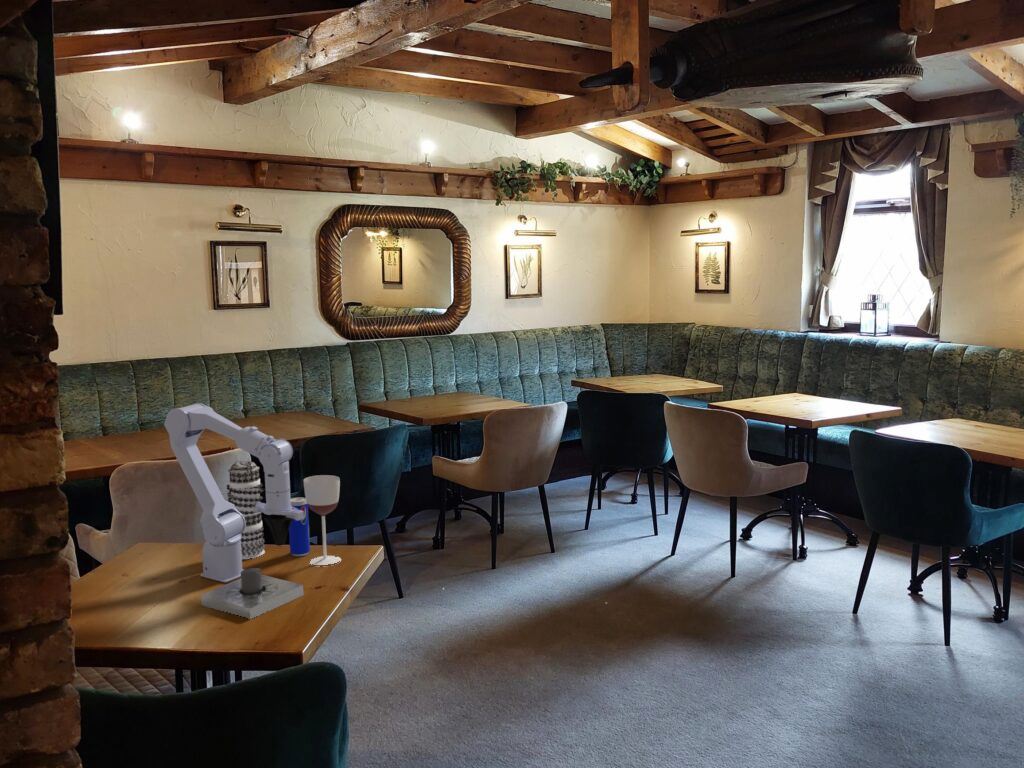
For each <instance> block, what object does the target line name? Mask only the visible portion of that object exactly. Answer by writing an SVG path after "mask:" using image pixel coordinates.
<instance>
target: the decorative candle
mask: <svg viewBox="0 0 1024 768" xmlns="http://www.w3.org/2000/svg"><path fill="white" fill-rule="evenodd" d="M227 471H228V472H229V473H228V474H229V481H228V484H227V485H226V490H228V492H227V493H226V494H227V497H228V498H227V499H228V500H227V501H228V502H230V503H232V504H234V505H235V507H236V509H237V510H238V511H239V512H240V513H241V514H242V515H243V516H244V518H245V521H246V527H245V530H244V531H243V532H242V537H241V554H242V560H250V558H252V559H257V558H260V557H262V556H264V555H263V554H265V553H266V551H265V549H266V547H265V544H264V543H265V538H263V537H264V536H265V533H264V532H263V531H264V526H263V520H262V512H259V513H257V512H255V505H256V504H259V503H263V502H262V500H263V499H264V497H263V496H262V495H260V494H262V493H263V492H264V490H263V489H262V487H264V484H263V483H261V478H260V466H257V464H256V463H255V462H254V461H239V462H234V463H233V464H232V465H231V466H230V468H227ZM261 555H262V556H261ZM259 556H260V557H259ZM256 557H257V558H256Z"/></svg>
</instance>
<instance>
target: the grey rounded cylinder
mask: <svg viewBox="0 0 1024 768" xmlns="http://www.w3.org/2000/svg"><path fill="white" fill-rule="evenodd" d="M262 571H263V570H262V569H261V568H258V567H251V568H245V569H244V570H243V571H241V577H240V579H241V587H242V594H244V595H254V594H259V593H261V592H263V588H262V575H263V572H262Z"/></svg>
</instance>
